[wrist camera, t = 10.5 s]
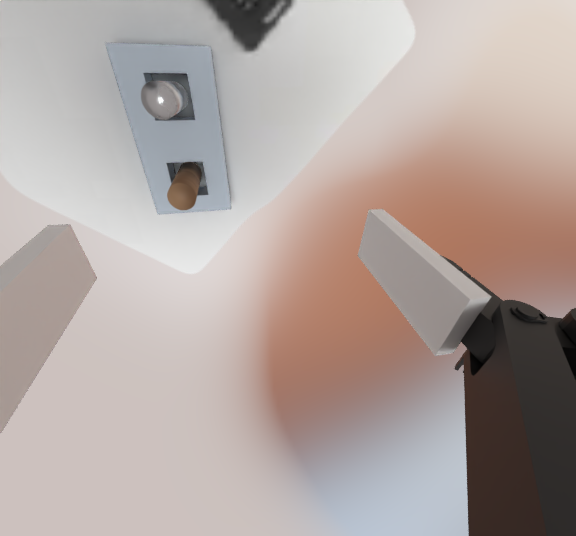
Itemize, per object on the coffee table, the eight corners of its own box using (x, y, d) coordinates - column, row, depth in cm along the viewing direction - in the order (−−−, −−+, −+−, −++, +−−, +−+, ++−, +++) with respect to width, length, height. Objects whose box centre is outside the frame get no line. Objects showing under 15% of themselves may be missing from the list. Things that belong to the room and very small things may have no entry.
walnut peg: (182, 184, 37) (171, 211, 29) (176, 162, 35) (163, 185, 28) (203, 182, 38) (198, 209, 30) (199, 160, 36) (192, 183, 28)
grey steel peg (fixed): (158, 81, 30) (136, 80, 22) (185, 81, 31) (172, 80, 23) (165, 110, 32) (146, 120, 24) (190, 110, 32) (180, 119, 24)
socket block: (116, 46, 28) (104, 42, 25) (211, 49, 30) (210, 46, 27) (162, 204, 38) (157, 214, 36) (230, 200, 40) (231, 209, 37)
